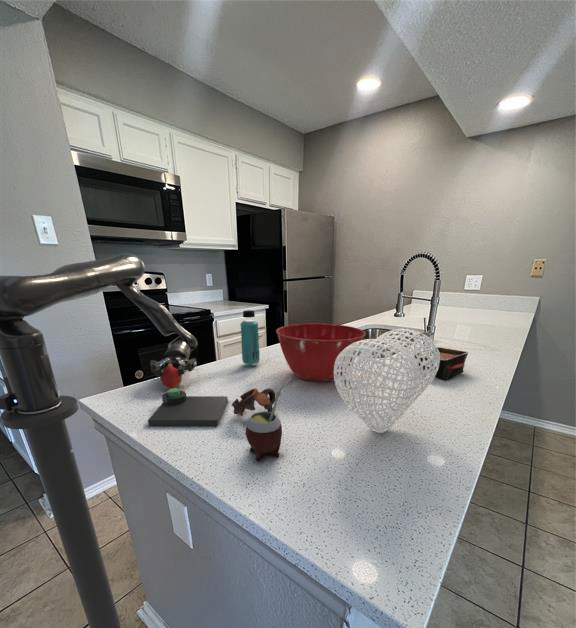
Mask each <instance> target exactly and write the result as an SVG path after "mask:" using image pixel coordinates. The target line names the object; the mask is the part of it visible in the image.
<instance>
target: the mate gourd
mask: <svg viewBox="0 0 576 628" xmlns="http://www.w3.org/2000/svg"><path fill="white" fill-rule="evenodd" d="M290 381H291V378H289V377H288V379H286V380H285V381H284V382H283V384H282V385H281V386H280V387H279V388H278V390H277V391H276V392H275V395H276V398H275V402H274V404H273V405H272V407H273V409H272V412H268V411H259V412H255V413H253V414H251V415H250V417H249V418H248V419H247V421H246V425H245V438H246V440H247V442H248V444H249V446H250V448H249V452H252V453H256V456H257V457H256V459H255V460H256V462H258V463H260V462H261V461H262V460H263V459H264V458H265V456H268V457H274V458H279V457H280V453H279V451H280V448H281V444H282V435H283V425H282V421H281V419H280V418H279V417H278V416H277V415H276V414H275V412H276V408H277V406H278V402H279V398H280V397H281V395H282V391H283V389H284V388H285V387H286V386H287V385H288V383H289V382H290Z"/></svg>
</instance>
